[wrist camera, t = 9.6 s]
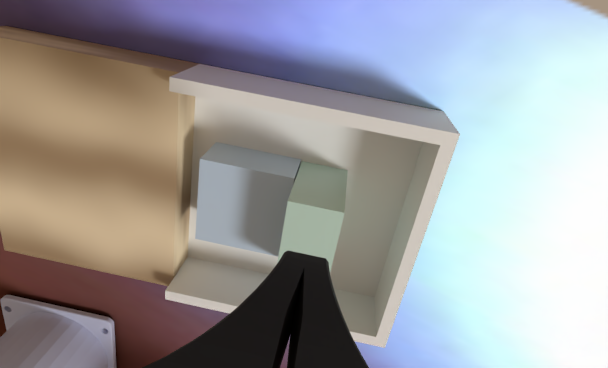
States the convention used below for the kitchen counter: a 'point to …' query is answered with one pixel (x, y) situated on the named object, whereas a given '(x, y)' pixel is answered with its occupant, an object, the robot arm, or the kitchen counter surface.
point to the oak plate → (94, 155)
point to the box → (329, 152)
